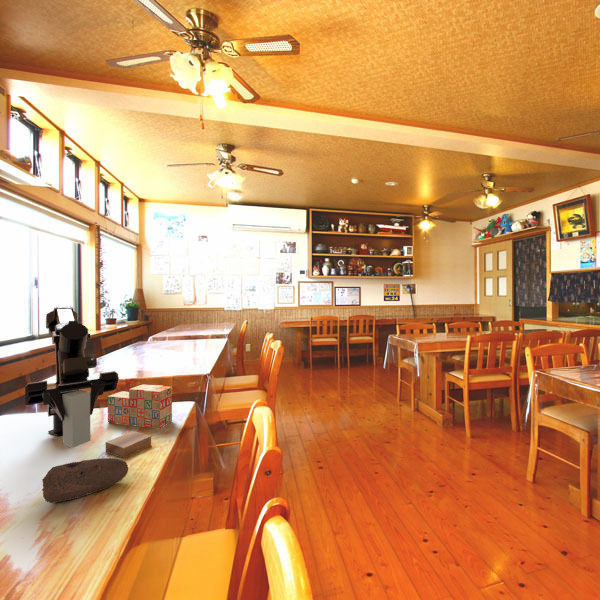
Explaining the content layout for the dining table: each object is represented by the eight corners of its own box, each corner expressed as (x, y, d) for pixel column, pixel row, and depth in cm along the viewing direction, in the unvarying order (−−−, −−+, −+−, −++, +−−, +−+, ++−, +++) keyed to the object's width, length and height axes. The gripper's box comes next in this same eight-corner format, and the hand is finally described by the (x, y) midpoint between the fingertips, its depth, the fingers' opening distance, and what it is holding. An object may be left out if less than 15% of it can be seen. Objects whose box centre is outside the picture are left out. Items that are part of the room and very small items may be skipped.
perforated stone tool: (128, 475, 72) (127, 446, 72) (129, 487, 67) (128, 455, 67) (45, 498, 64) (45, 464, 64) (40, 512, 59) (40, 476, 59)
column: (63, 444, 73) (62, 394, 73) (81, 437, 77) (80, 390, 77) (72, 447, 71) (71, 396, 71) (90, 440, 75) (90, 391, 75)
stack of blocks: (107, 423, 104) (106, 387, 104) (122, 416, 110) (122, 382, 110) (159, 429, 98) (159, 391, 99) (172, 421, 104) (172, 385, 105)
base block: (105, 453, 83) (105, 442, 83) (132, 441, 91) (132, 431, 91) (124, 459, 80) (124, 448, 80) (151, 446, 87) (151, 436, 87)
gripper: (25, 348, 71) (24, 408, 63) (116, 341, 83) (127, 390, 75) (25, 376, 77) (25, 434, 68) (111, 366, 89) (120, 413, 81)
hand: (77, 416), depth 73 cm, fingers closed on column, 5 cm apart
